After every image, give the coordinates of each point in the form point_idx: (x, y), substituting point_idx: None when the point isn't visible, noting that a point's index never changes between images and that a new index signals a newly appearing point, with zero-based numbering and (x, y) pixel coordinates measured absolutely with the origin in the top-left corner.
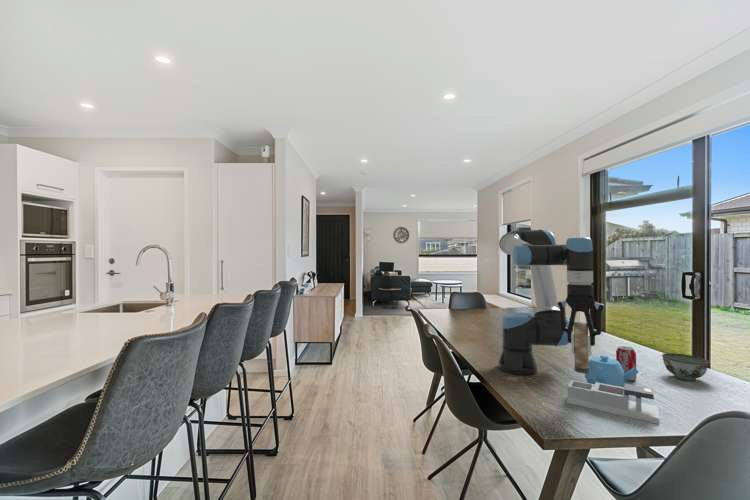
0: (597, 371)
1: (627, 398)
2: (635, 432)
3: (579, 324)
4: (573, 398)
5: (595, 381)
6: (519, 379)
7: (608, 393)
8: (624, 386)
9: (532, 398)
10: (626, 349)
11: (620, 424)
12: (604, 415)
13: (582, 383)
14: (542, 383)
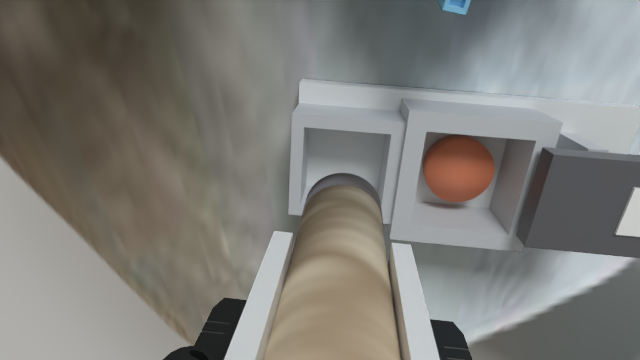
0: None
1: (519, 248)
2: (487, 318)
3: None
4: None
5: None
6: (53, 17)
7: (450, 243)
8: (538, 205)
9: (182, 221)
10: None
11: (455, 287)
12: (416, 246)
13: (345, 129)
14: (160, 13)
